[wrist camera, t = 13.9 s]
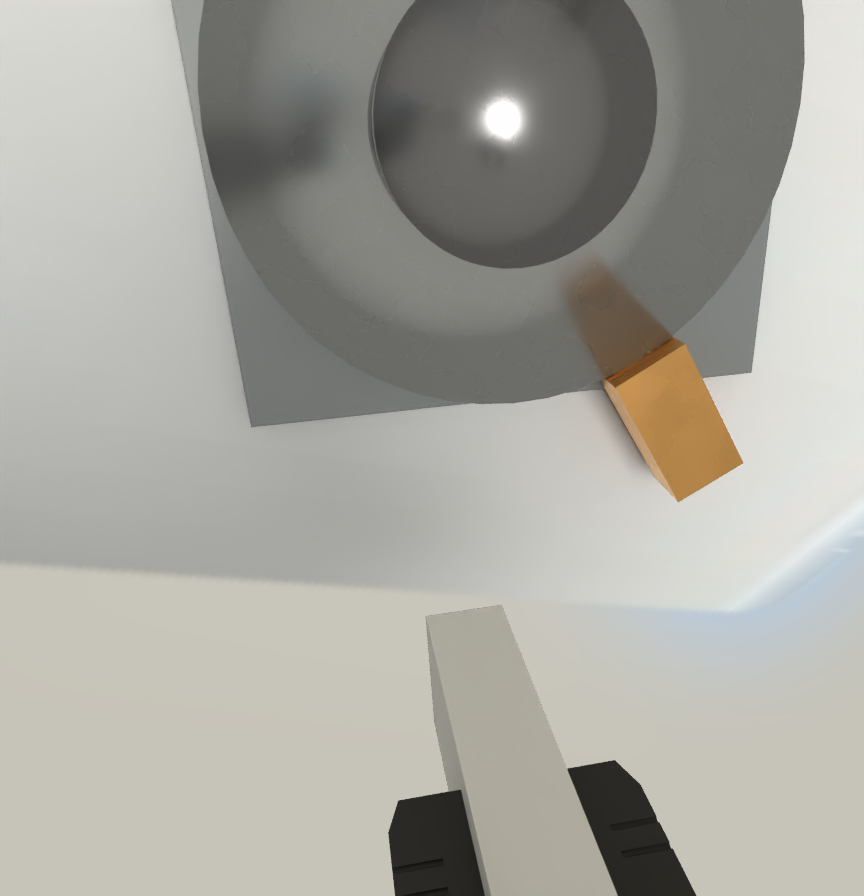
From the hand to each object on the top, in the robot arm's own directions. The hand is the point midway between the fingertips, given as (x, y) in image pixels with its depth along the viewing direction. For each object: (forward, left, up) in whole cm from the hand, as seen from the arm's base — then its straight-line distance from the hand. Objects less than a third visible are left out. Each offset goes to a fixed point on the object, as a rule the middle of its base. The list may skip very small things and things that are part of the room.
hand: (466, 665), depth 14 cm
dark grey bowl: (+4, +10, -14) cm, 18 cm away
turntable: (+6, +7, -16) cm, 18 cm away
